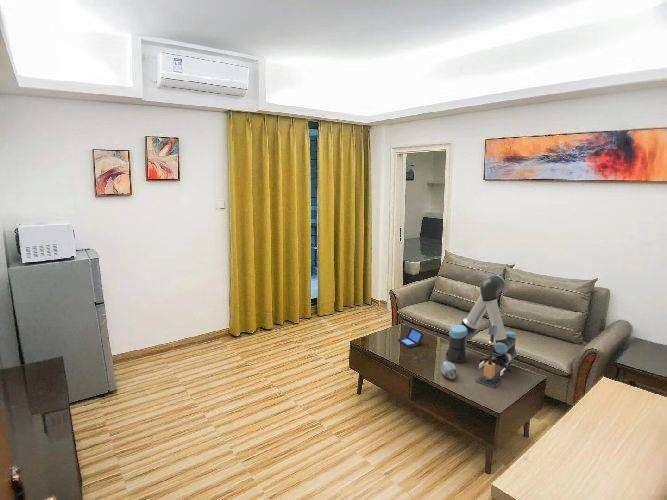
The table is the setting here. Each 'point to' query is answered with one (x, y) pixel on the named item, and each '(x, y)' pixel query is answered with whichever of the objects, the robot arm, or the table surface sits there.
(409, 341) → the handheld game console
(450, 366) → the spool
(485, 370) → the sleeve
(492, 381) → the stand
